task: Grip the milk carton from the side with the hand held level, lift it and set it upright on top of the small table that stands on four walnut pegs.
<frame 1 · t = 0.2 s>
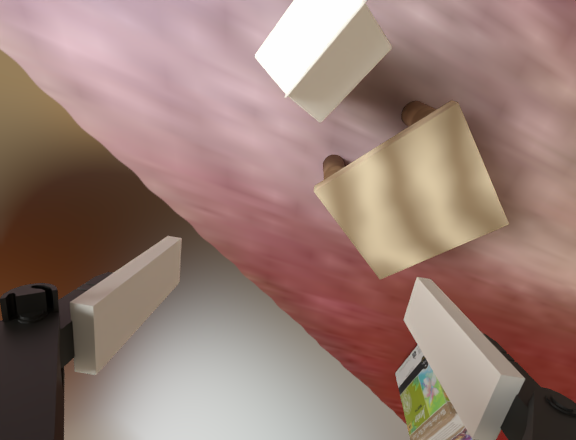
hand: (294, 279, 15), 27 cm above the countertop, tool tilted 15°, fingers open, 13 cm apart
tea box: (427, 358, 62), on the countertop
milk: (318, 51, 33), on the countertop
small table: (391, 174, 40), on the countertop
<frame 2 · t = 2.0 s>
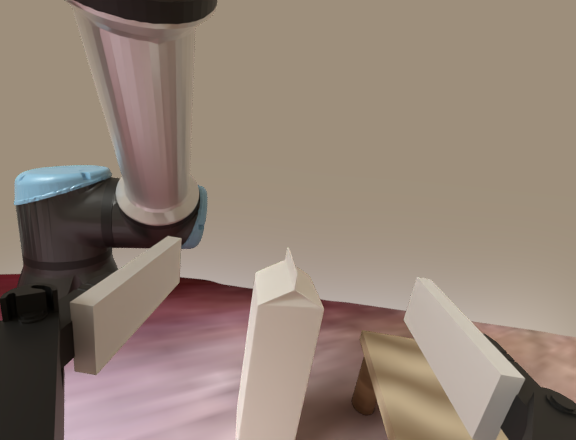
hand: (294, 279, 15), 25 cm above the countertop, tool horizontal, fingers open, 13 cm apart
milk: (261, 434, 32), on the countertop
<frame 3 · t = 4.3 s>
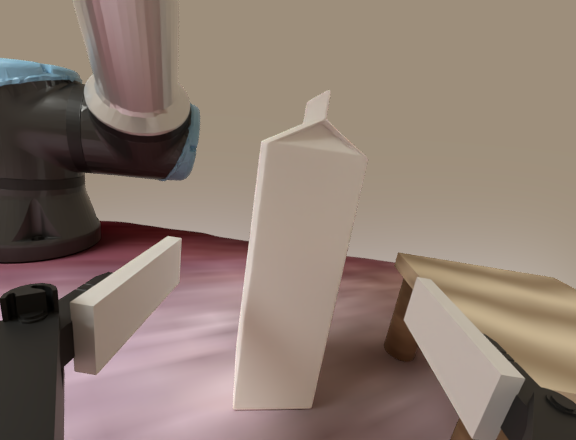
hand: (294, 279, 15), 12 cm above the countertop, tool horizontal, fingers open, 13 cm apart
milk: (269, 378, 23), on the countertop
small table: (494, 413, 23), on the countertop
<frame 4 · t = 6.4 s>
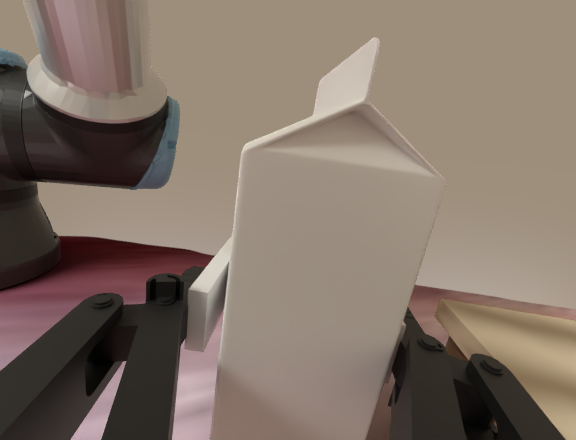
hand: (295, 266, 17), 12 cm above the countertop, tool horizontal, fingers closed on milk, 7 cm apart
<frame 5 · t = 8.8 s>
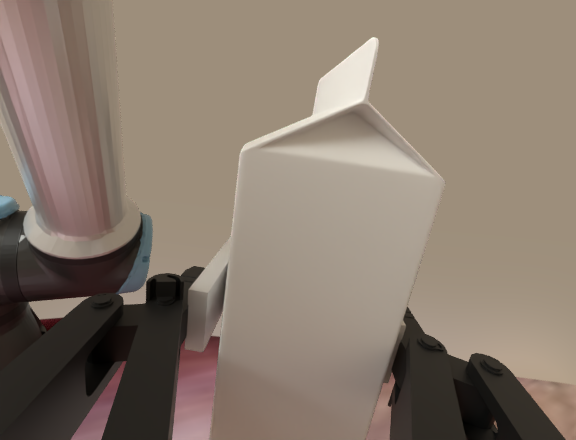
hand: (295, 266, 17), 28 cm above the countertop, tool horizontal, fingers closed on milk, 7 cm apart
when the fingers open (23 cm above the countertop, at t = 11.1 s): milk drops 1 cm, resting on small table.
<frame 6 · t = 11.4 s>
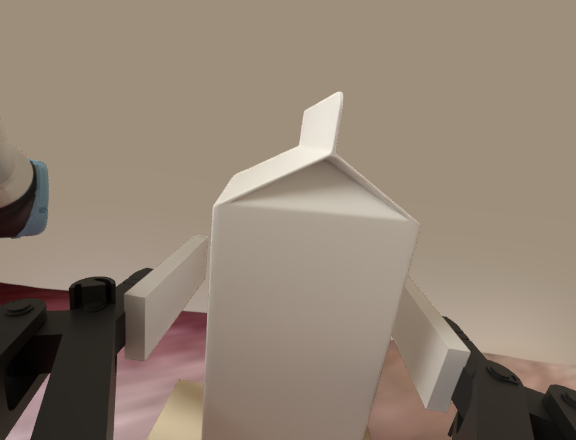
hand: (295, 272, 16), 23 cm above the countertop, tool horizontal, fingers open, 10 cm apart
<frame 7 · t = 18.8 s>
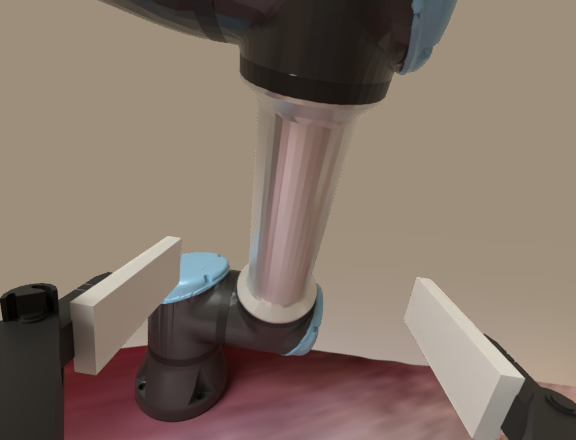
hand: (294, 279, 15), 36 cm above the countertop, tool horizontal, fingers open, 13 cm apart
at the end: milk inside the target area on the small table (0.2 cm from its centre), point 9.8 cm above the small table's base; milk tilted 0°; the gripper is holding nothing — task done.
